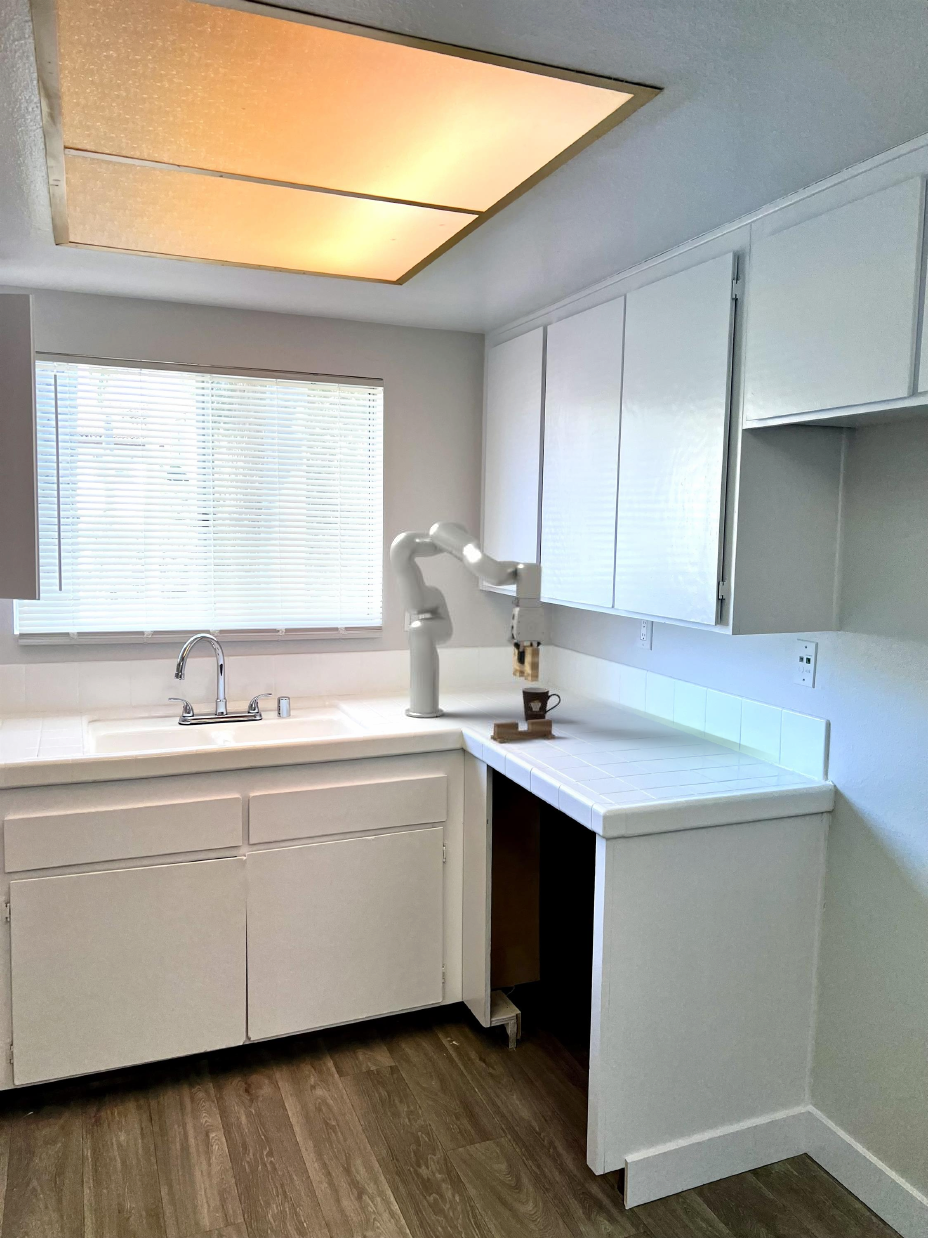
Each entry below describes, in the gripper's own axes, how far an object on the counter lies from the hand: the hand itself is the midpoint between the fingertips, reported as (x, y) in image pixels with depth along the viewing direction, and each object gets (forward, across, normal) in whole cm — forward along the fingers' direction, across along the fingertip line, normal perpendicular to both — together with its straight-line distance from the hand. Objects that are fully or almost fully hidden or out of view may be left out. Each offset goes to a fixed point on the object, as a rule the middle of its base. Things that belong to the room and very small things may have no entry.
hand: (525, 662), depth 277 cm
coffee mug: (+20, +9, +8) cm, 24 cm away
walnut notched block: (+20, -7, -12) cm, 25 cm away
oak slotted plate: (+5, 0, 0) cm, 5 cm away
